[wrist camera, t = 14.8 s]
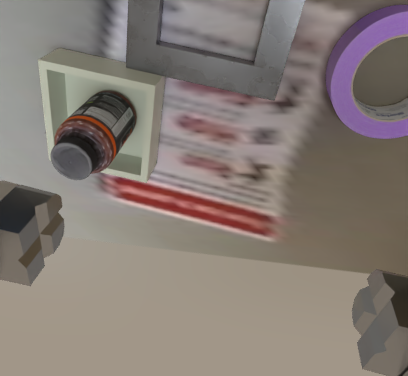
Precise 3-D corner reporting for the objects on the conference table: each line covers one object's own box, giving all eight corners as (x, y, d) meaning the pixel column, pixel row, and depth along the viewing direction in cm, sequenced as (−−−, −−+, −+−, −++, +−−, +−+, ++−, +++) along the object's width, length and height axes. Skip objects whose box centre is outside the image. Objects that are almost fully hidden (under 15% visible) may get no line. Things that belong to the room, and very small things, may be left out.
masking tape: (327, 13, 33) (333, 21, 30) (469, -6, 31) (491, 0, 28) (323, 126, 40) (327, 143, 37) (439, 118, 37) (454, 135, 34)
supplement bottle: (120, 145, 44) (81, 200, 35) (80, 112, 42) (27, 161, 33) (148, 113, 41) (113, 165, 32) (106, 77, 39) (56, 120, 30)
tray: (166, 71, 38) (155, 85, 35) (156, 163, 46) (146, 182, 42) (59, 48, 39) (37, 59, 35) (66, 142, 46) (49, 160, 42)
